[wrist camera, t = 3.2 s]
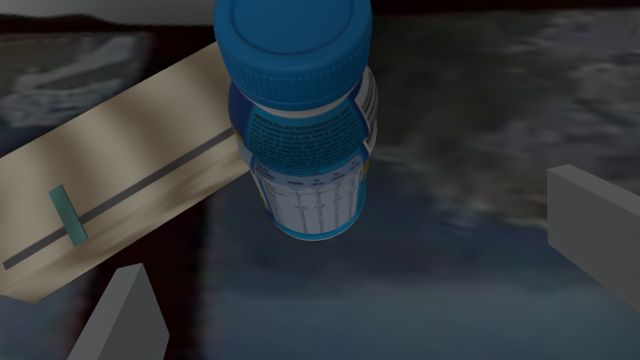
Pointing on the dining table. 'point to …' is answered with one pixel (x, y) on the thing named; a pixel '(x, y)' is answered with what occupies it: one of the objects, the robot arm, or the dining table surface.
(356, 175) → the beverage bottle
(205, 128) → the birch board
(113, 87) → the dining table surface
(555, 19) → the dining table surface
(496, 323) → the dining table surface
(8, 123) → the dining table surface
